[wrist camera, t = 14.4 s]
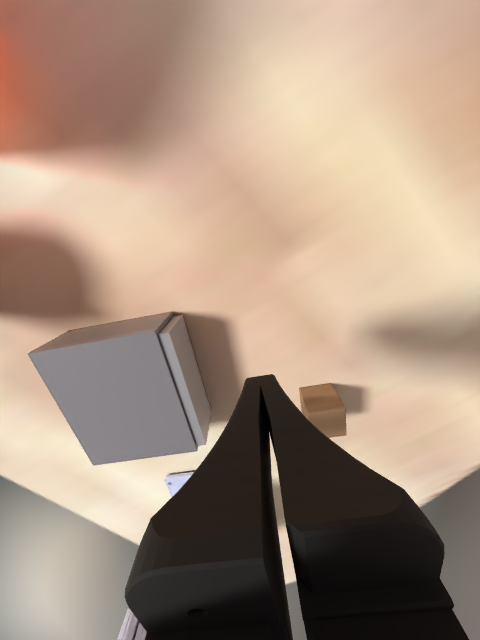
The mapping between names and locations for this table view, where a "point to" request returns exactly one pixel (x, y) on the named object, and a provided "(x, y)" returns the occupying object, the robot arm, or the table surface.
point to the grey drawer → (187, 377)
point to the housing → (117, 390)
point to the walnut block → (324, 409)
